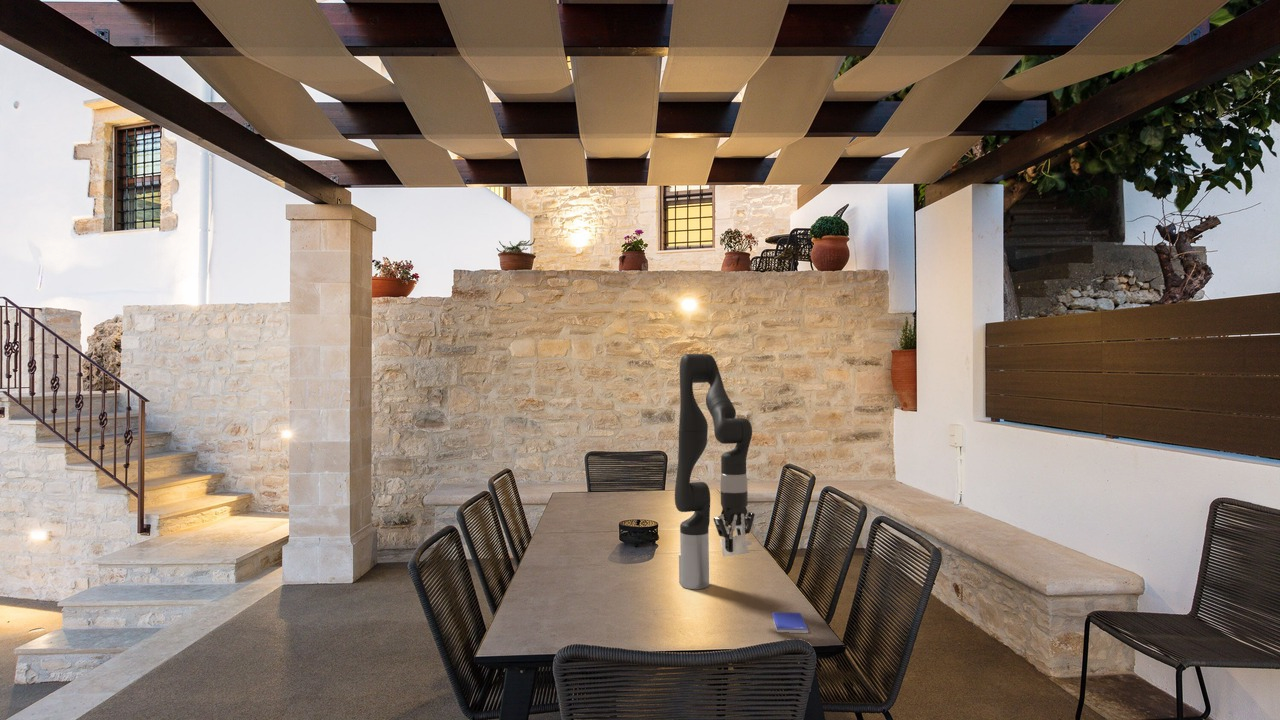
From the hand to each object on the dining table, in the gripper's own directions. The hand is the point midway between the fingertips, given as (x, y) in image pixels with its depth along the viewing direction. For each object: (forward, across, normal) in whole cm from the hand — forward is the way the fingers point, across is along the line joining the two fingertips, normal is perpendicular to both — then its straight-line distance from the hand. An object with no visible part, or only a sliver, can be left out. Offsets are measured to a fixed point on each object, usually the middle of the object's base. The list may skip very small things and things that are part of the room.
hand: (734, 550), depth 195 cm
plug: (+1, 0, 0) cm, 1 cm away
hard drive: (+20, -9, +12) cm, 25 cm away
